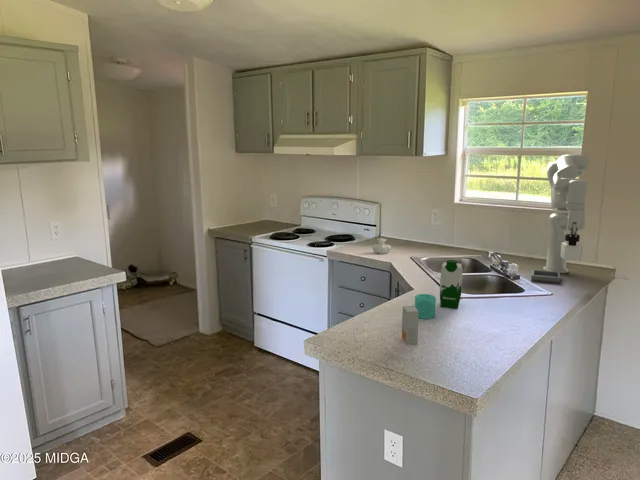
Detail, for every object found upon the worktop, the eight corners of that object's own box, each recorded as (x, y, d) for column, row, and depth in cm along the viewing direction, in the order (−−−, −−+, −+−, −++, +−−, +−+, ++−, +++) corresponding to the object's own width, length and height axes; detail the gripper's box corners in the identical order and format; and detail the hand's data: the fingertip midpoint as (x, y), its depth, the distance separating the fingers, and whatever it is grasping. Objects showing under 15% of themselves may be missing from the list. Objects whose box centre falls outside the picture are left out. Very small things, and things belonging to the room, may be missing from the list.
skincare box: (401, 337, 172) (402, 305, 170) (413, 337, 172) (414, 305, 170) (405, 344, 166) (406, 311, 164) (417, 344, 167) (419, 311, 164)
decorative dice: (434, 313, 198) (435, 294, 196) (435, 319, 190) (435, 300, 189) (414, 311, 199) (415, 293, 198) (414, 318, 192) (415, 299, 190)
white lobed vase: (371, 256, 310) (371, 244, 301) (372, 247, 315) (372, 235, 306) (390, 257, 308) (390, 245, 299) (391, 248, 313) (391, 236, 304)
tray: (531, 275, 256) (532, 269, 255) (559, 277, 250) (559, 272, 250) (531, 281, 244) (531, 275, 243) (559, 284, 239) (560, 278, 238)
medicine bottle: (580, 260, 227) (583, 235, 225) (564, 260, 228) (566, 235, 226) (576, 257, 234) (578, 232, 231) (560, 256, 235) (562, 232, 233)
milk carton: (438, 307, 204) (440, 261, 200) (440, 301, 213) (442, 257, 209) (459, 310, 201) (462, 263, 198) (461, 303, 210) (463, 258, 206)
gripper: (565, 204, 235) (562, 239, 239) (567, 208, 220) (563, 246, 223) (583, 204, 232) (579, 241, 236) (586, 209, 217) (581, 248, 220)
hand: (571, 243), depth 230 cm, fingers closed on medicine bottle, 7 cm apart
